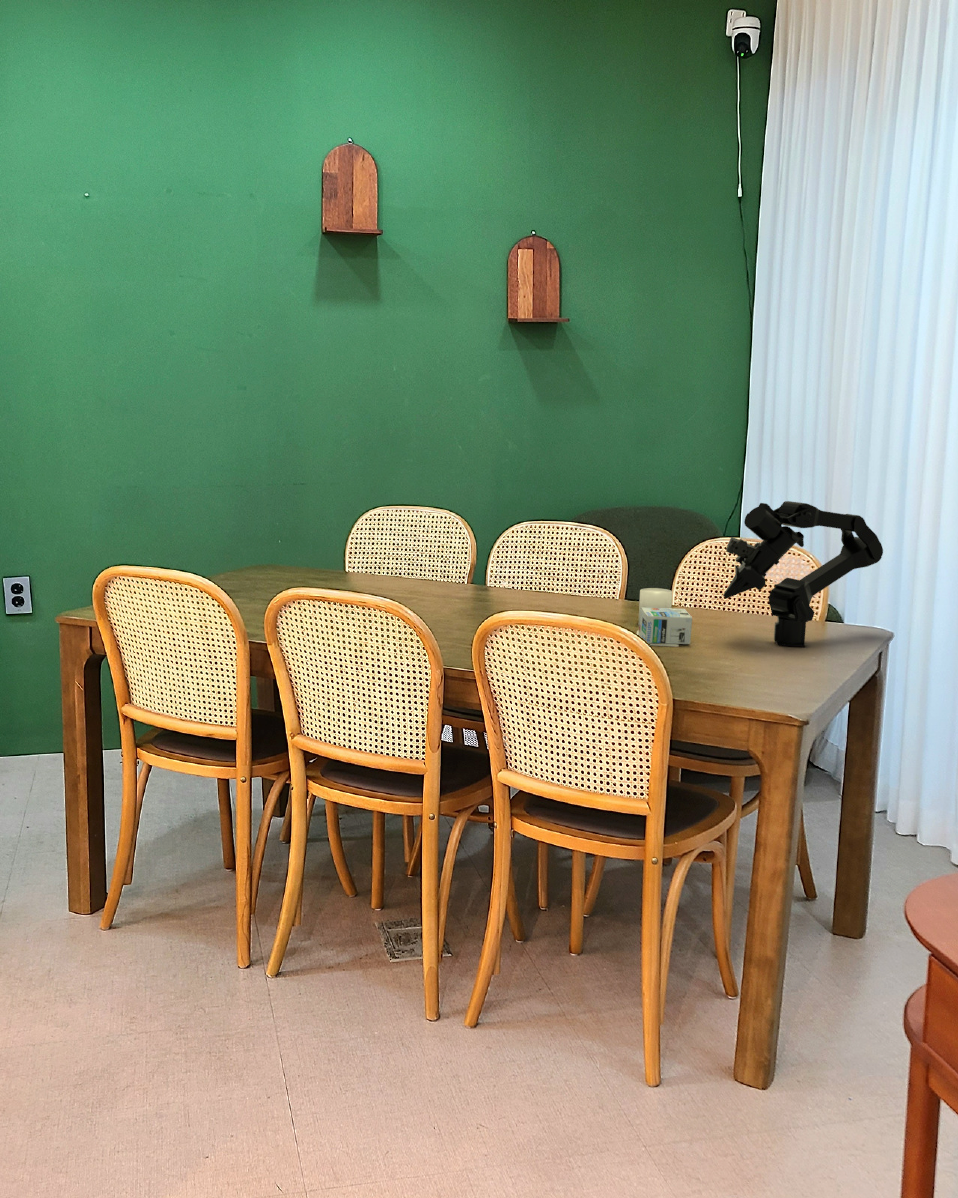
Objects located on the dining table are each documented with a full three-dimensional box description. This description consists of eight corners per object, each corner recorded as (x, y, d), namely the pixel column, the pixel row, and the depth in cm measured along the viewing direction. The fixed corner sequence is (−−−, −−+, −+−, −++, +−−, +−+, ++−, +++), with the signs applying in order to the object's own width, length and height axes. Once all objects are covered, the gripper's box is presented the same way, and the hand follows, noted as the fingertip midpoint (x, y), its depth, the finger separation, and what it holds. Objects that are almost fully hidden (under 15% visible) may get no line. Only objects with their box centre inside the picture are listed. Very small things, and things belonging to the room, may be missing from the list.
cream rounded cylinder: (670, 623, 281) (672, 588, 279) (670, 629, 273) (672, 594, 271) (639, 621, 282) (640, 587, 280) (637, 628, 274) (639, 592, 273)
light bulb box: (693, 616, 254) (646, 615, 254) (691, 645, 255) (644, 643, 255) (684, 607, 264) (639, 606, 264) (682, 635, 265) (637, 633, 265)
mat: (678, 634, 268) (678, 632, 268) (678, 646, 254) (678, 645, 254) (637, 632, 269) (637, 630, 269) (634, 644, 256) (634, 642, 256)
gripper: (744, 519, 262) (698, 567, 266) (749, 531, 244) (700, 581, 248) (778, 551, 262) (732, 597, 267) (786, 564, 244) (736, 614, 249)
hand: (724, 597), depth 258 cm, fingers closed
